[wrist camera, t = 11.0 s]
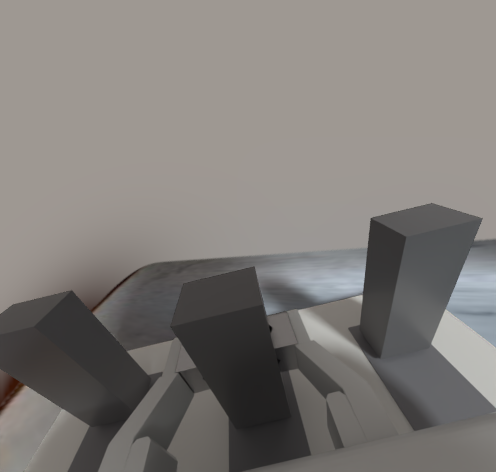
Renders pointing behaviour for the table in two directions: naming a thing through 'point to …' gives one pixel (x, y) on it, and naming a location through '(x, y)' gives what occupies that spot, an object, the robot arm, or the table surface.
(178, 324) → the post
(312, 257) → the table surface
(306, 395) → the box
